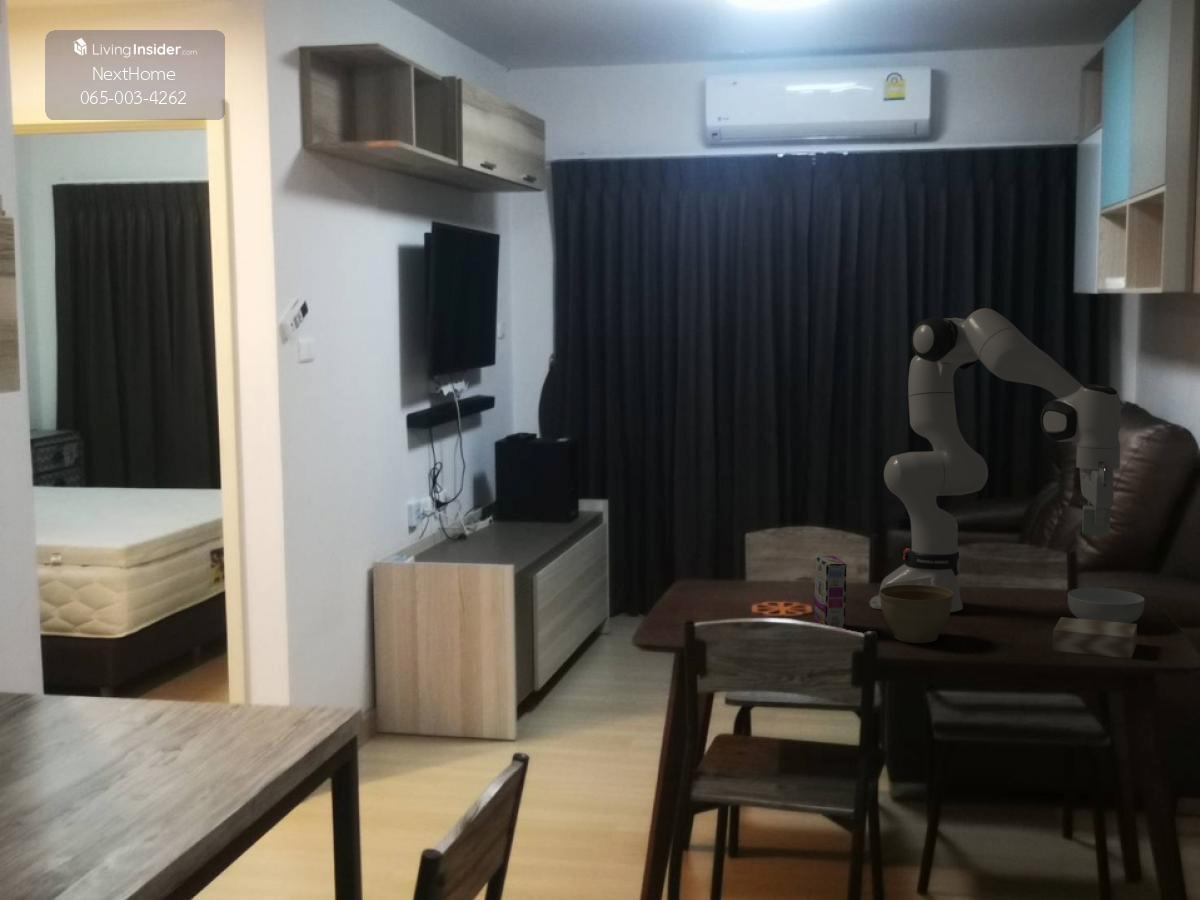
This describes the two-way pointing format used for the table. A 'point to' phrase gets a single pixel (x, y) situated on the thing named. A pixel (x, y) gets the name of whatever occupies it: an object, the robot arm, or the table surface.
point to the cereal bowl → (1105, 604)
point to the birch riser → (1095, 637)
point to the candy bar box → (830, 591)
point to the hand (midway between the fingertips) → (1096, 523)
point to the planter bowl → (916, 611)
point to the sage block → (1088, 522)
